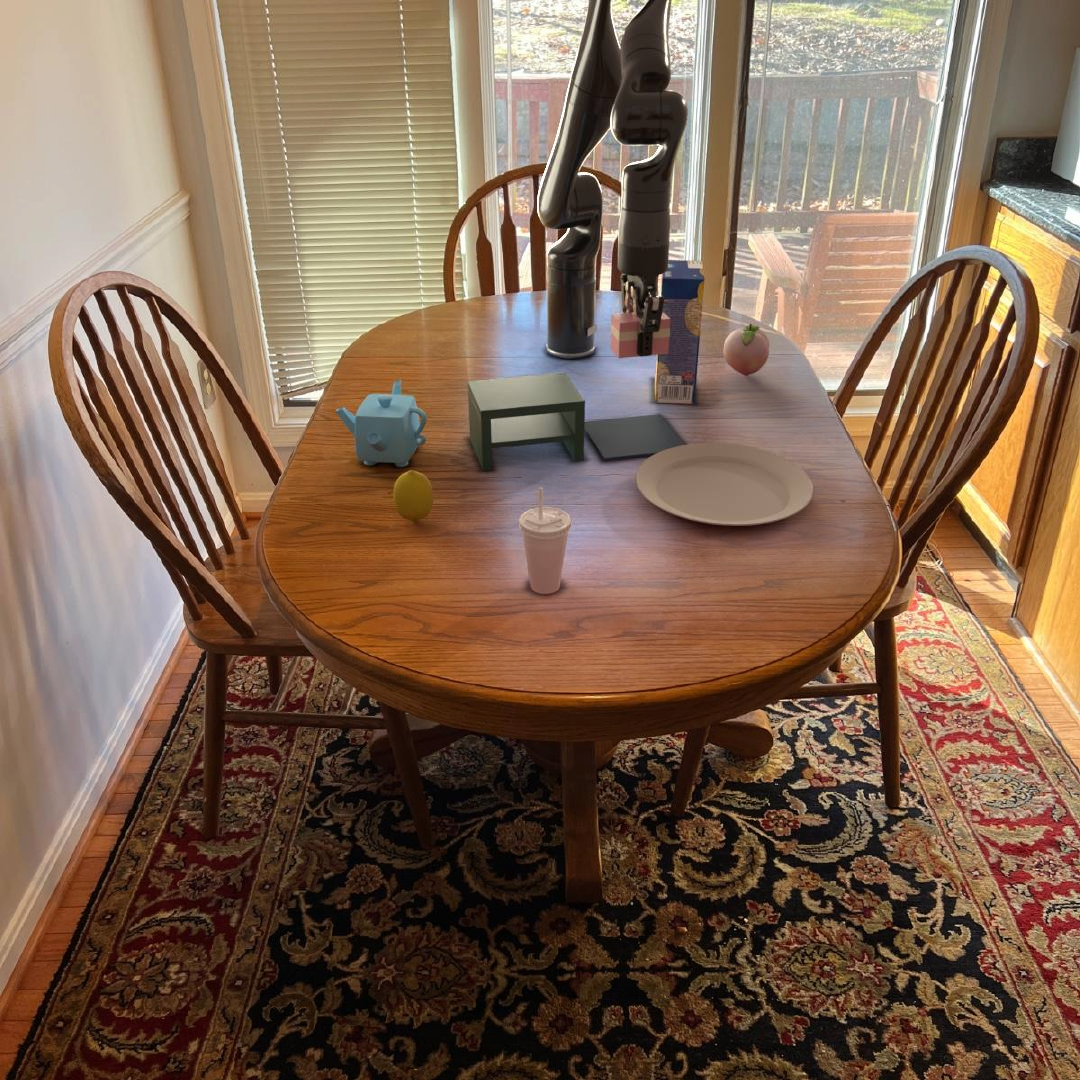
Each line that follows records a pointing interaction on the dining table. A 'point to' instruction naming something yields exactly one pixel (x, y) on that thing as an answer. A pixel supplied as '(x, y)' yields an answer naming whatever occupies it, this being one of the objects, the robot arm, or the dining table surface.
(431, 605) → the dining table surface
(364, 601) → the dining table surface
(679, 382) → the beverage box
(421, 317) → the dining table surface
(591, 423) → the mat
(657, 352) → the block
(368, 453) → the teapot
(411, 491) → the lemon
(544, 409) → the shelf stand
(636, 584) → the dining table surface
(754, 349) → the decorative fruit
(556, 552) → the smoothie
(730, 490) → the plate
